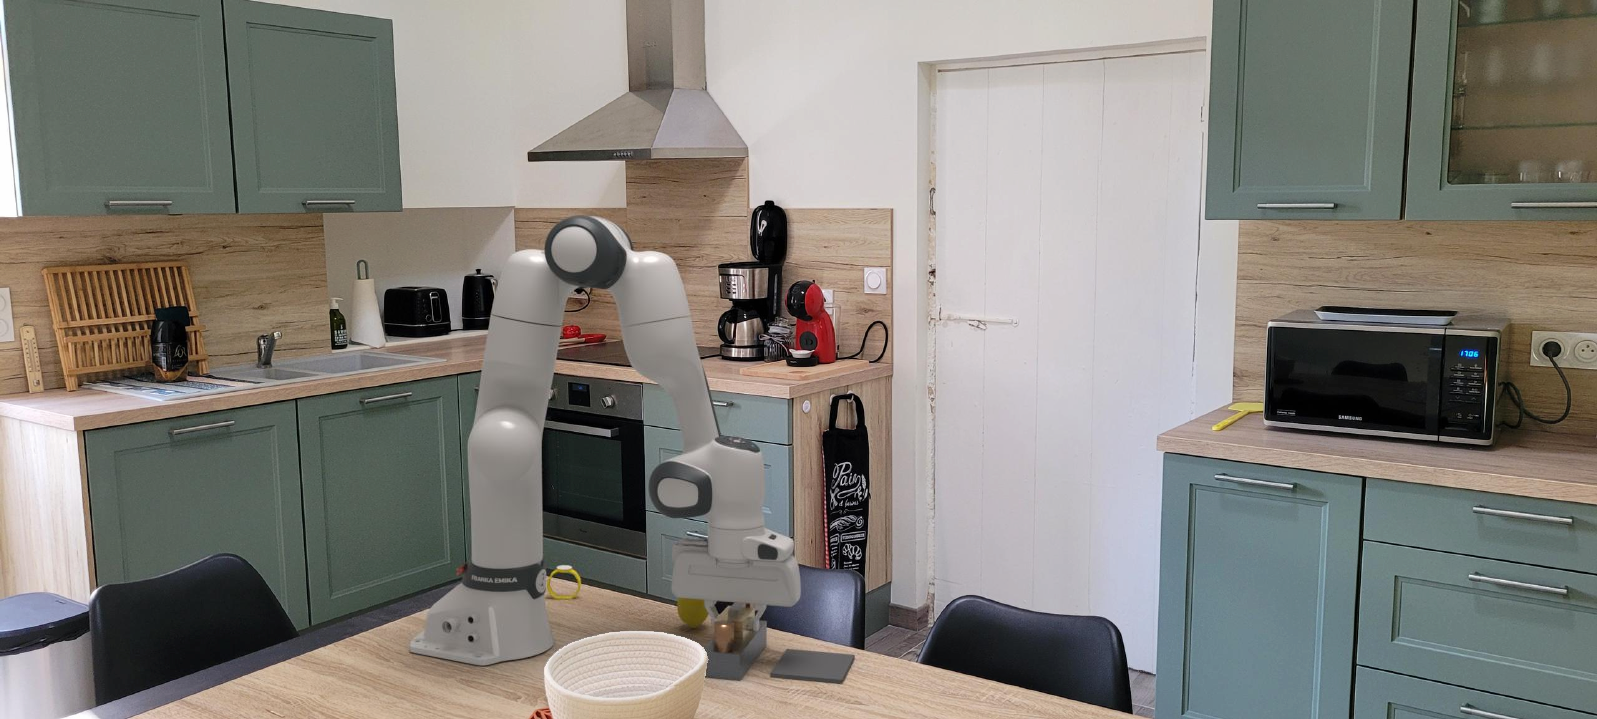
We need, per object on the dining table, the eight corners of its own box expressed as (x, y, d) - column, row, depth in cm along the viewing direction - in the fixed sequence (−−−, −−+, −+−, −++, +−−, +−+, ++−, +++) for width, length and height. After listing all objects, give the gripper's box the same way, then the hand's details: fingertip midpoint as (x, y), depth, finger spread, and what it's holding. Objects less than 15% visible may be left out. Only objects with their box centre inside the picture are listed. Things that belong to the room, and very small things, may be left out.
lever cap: (715, 641, 178) (715, 612, 178) (727, 626, 185) (728, 599, 185) (742, 643, 177) (743, 615, 177) (754, 629, 184) (754, 601, 184)
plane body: (701, 676, 174) (701, 618, 173) (730, 641, 190) (731, 588, 189) (740, 680, 173) (740, 621, 172) (766, 644, 189) (767, 590, 188)
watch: (580, 597, 214) (583, 566, 213) (578, 602, 211) (580, 570, 210) (548, 595, 214) (550, 563, 213) (545, 599, 211) (547, 567, 210)
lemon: (704, 634, 193) (705, 587, 192) (672, 632, 194) (673, 585, 194) (713, 624, 199) (714, 578, 198) (682, 621, 200) (682, 576, 199)
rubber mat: (770, 676, 175) (770, 672, 175) (786, 652, 185) (786, 648, 185) (841, 683, 172) (842, 679, 172) (854, 658, 183) (854, 654, 183)
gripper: (665, 541, 179) (665, 629, 180) (794, 551, 174) (793, 640, 176) (678, 532, 185) (678, 616, 186) (803, 541, 181) (802, 627, 182)
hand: (735, 628), depth 181 cm, fingers closed on lever cap, 4 cm apart
